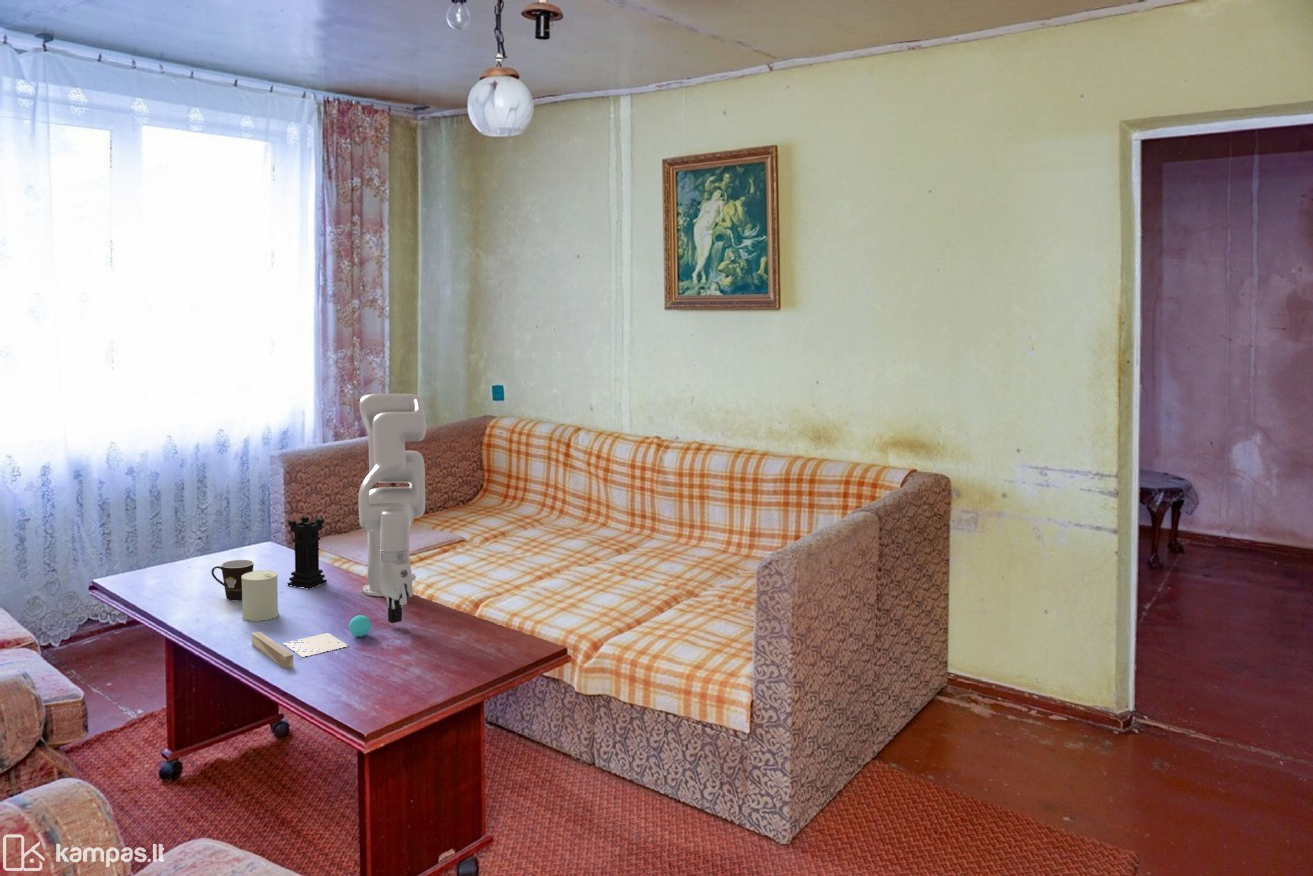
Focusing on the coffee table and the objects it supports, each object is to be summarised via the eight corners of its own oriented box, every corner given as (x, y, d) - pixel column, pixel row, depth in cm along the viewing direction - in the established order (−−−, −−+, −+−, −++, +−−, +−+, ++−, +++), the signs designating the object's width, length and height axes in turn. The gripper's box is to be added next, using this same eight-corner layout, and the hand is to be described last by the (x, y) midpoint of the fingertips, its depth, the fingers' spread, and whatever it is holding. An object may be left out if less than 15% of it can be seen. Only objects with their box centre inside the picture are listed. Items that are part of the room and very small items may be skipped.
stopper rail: (259, 643, 235) (259, 631, 234) (293, 666, 221) (293, 654, 220) (251, 644, 233) (251, 633, 233) (284, 668, 219) (284, 656, 219)
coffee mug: (260, 596, 270) (260, 563, 269) (233, 603, 263) (232, 569, 262) (236, 588, 276) (236, 556, 275) (209, 595, 269) (208, 562, 268)
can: (265, 623, 249) (264, 579, 247) (234, 619, 251) (233, 576, 249) (285, 612, 258) (284, 570, 256) (255, 609, 260) (254, 567, 258)
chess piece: (326, 582, 286) (326, 518, 283) (309, 589, 279) (308, 524, 276) (305, 578, 289) (304, 516, 286) (287, 585, 281) (286, 521, 278)
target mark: (327, 633, 243) (327, 632, 243) (349, 646, 234) (349, 645, 234) (282, 643, 235) (282, 643, 235) (302, 657, 226) (302, 657, 226)
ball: (344, 635, 241) (363, 633, 245) (355, 639, 238) (374, 637, 242) (346, 614, 241) (364, 612, 246) (357, 618, 238) (376, 616, 242)
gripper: (422, 559, 244) (421, 626, 247) (393, 547, 255) (393, 611, 258) (396, 563, 239) (396, 632, 242) (368, 551, 250) (368, 617, 252)
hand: (394, 621), depth 250 cm, fingers closed
